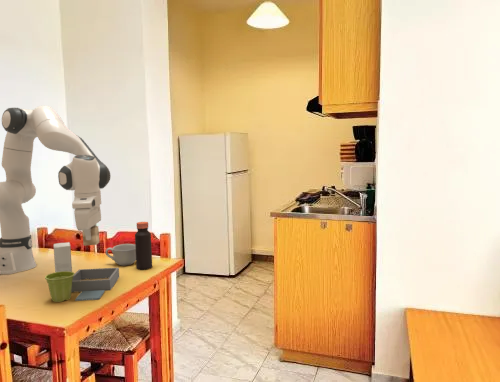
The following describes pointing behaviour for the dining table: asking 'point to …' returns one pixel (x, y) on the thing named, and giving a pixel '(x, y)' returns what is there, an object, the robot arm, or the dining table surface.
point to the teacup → (123, 254)
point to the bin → (94, 284)
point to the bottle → (143, 246)
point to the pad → (90, 295)
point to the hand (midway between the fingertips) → (91, 238)
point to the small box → (62, 257)
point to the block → (95, 236)
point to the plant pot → (60, 285)
